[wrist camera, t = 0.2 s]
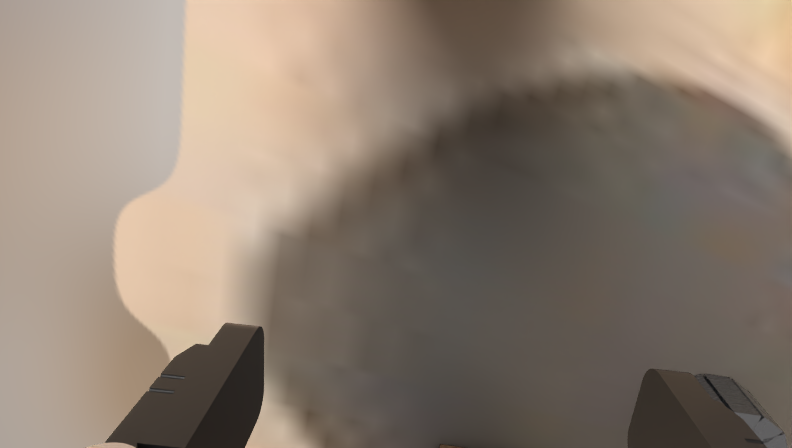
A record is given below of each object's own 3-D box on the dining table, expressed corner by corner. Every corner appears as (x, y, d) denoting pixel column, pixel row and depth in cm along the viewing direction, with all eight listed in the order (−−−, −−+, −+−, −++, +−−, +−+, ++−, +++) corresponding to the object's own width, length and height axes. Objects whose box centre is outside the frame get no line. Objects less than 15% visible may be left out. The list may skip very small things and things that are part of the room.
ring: (663, 367, 30) (689, 405, 28) (769, 383, 30) (806, 422, 27) (632, 449, 33) (652, 491, 30) (731, 463, 33) (761, 507, 30)
